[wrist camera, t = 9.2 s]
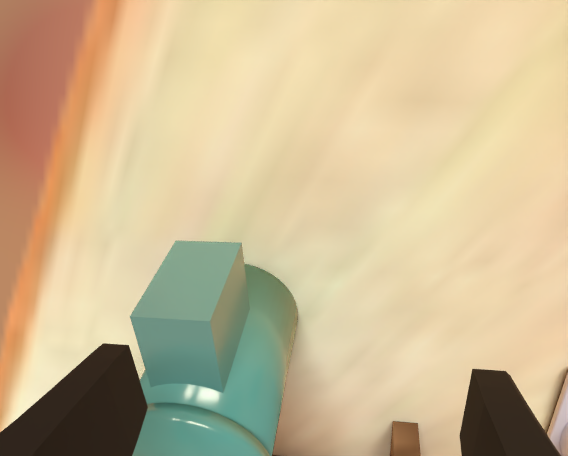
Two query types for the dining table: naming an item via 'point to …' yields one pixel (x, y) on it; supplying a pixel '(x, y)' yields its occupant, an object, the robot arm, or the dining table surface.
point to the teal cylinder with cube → (212, 353)
